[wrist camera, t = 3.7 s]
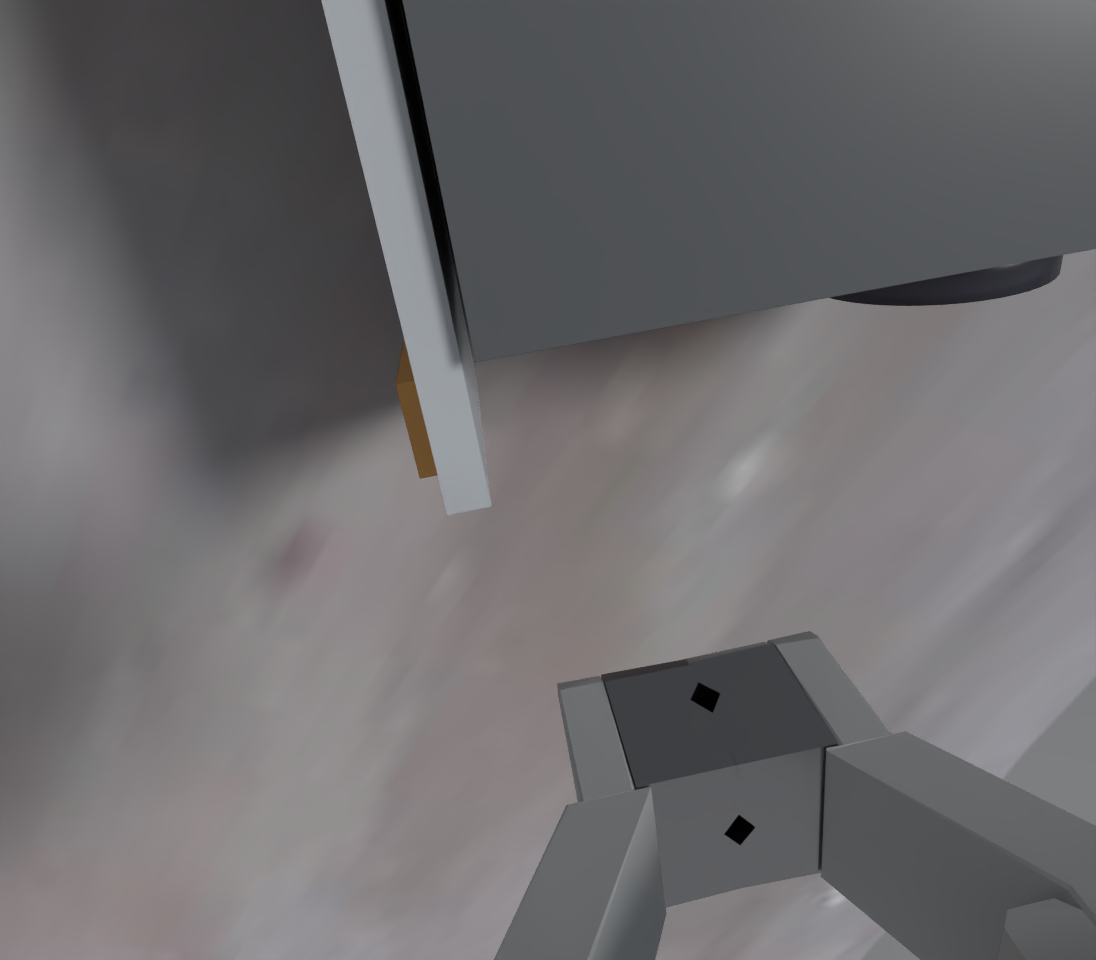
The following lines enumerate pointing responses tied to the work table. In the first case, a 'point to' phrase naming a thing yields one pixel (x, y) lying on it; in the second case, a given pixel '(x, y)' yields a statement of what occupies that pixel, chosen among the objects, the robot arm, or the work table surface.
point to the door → (413, 248)
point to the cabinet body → (751, 155)
